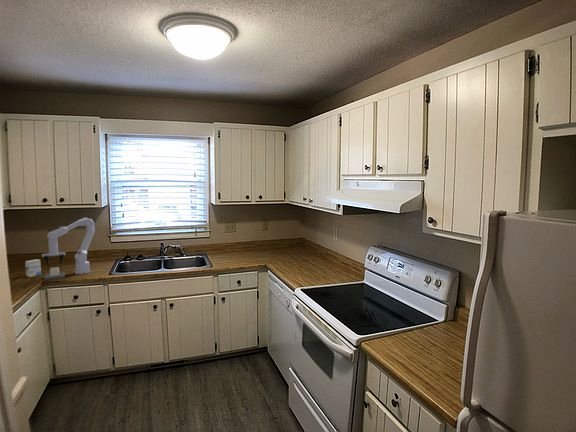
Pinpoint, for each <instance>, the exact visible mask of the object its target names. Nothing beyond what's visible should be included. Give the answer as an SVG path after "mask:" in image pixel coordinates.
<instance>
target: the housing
mask: <svg viewBox="0 0 576 432" xmlns="http://www.w3.org/2000/svg"><path fill="white" fill-rule="evenodd" d="M59 273H60V267H59V266H58V267H57V266H56V267H50V269H49V274H50V277H52V276H59Z"/></svg>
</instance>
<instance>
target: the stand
mask: <svg viewBox="0 0 576 432" xmlns="http://www.w3.org/2000/svg"><path fill="white" fill-rule="evenodd" d="M65 275H66V272H59V276H52V277H50V273H48V274H45V276H44V277H43V278H44V281H53V280H61V279H64V278H65V277H66V276H65Z"/></svg>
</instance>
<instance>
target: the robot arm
mask: <svg viewBox="0 0 576 432" xmlns="http://www.w3.org/2000/svg"><path fill="white" fill-rule="evenodd" d="M78 227H85V229H86V233H85V235H84V238H83V240H82V242H81V245H80V247H79V249H78V250H77V251H76V253H75V255H74V259H75V273H74V274H75V275H81V274H82V275H83V274H89V273H90V271H91V268H90V261H88V260H87V259H88V257H87V256H88V249H89V247H90V244H91V242H92V239H93V236H94V235H95V231H96V228H95V222H94V221H93V219H92V218H88V217H82V218H80V219H78V220H76V221H75V222H72V223H71V224H69V225H67V226H59V228H57V229H53V230H52V231H50V232H48V233H47V236H46V237H47V238H48V253H42V254H41V257H42V258H43V259H44V261H45V262H46V264H47V267H49V266H50V260H49V257H57V256H59V265H60V266H62V262H63V258H64V256H66V252H65V251H62V252H59V242H58V238H60V237H63V235H65V234H68V233H69V231H71V230H73V229H75V228H78Z"/></svg>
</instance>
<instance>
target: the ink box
mask: <svg viewBox="0 0 576 432" xmlns="http://www.w3.org/2000/svg"><path fill="white" fill-rule="evenodd" d="M24 265H25V274H26V275H25V276H26V277H28V278H32V277H35V276H40V275H42V265H41V259H31V260H25V264H24Z"/></svg>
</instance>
